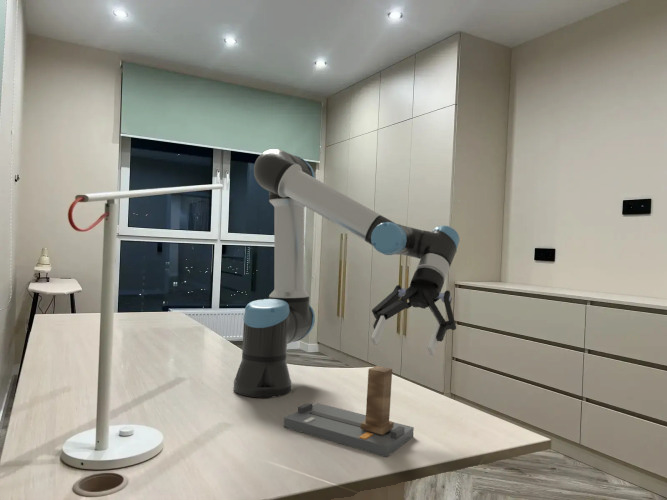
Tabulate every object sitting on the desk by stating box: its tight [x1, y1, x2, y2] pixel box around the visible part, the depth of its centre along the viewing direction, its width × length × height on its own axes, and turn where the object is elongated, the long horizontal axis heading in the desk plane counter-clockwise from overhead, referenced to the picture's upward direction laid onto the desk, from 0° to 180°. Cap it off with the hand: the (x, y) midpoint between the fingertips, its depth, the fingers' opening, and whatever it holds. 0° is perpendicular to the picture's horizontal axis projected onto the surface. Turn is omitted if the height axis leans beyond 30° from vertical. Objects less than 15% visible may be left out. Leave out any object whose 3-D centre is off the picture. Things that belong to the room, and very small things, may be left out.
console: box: [283, 402, 415, 458], centre depth 107 cm, size 24×13×3 cm, turn 59°
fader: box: [360, 365, 394, 435], centre depth 103 cm, size 5×5×12 cm
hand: (401, 346), depth 113 cm, fingers open, 13 cm apart
